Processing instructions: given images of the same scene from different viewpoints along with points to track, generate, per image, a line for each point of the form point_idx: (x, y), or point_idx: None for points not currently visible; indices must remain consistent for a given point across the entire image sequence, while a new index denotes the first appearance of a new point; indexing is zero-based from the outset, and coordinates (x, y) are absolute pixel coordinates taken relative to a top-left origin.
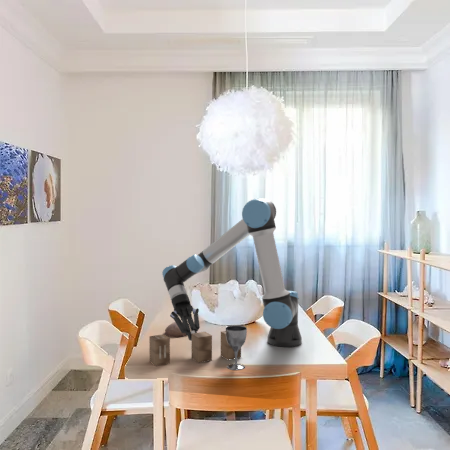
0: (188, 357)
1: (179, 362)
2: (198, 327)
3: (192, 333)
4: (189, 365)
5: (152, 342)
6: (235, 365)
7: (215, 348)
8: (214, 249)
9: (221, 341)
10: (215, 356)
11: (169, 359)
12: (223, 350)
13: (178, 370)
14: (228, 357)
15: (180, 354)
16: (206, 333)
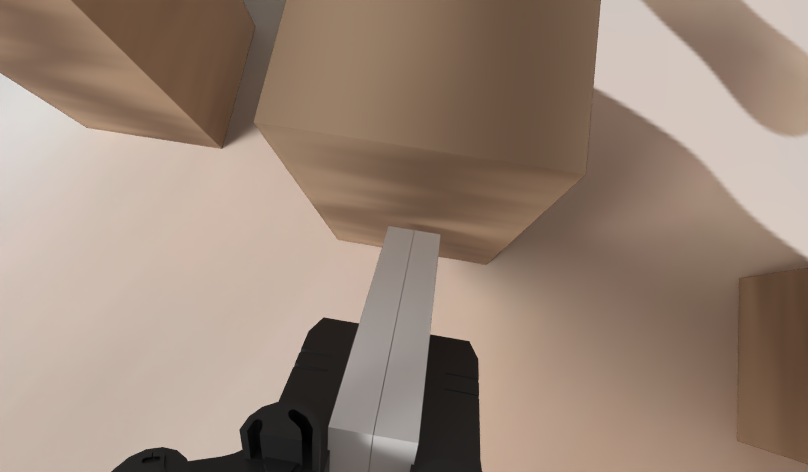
0: (495, 306)
1: (644, 242)
2: (155, 468)
3: (564, 169)
4: (604, 123)
5: None
6: None
7: (91, 362)
8: None
9: (140, 44)
10: (270, 164)
11: (775, 274)
12: (205, 59)
13: (745, 86)
14: (243, 8)
15: (513, 446)
16: (321, 4)
